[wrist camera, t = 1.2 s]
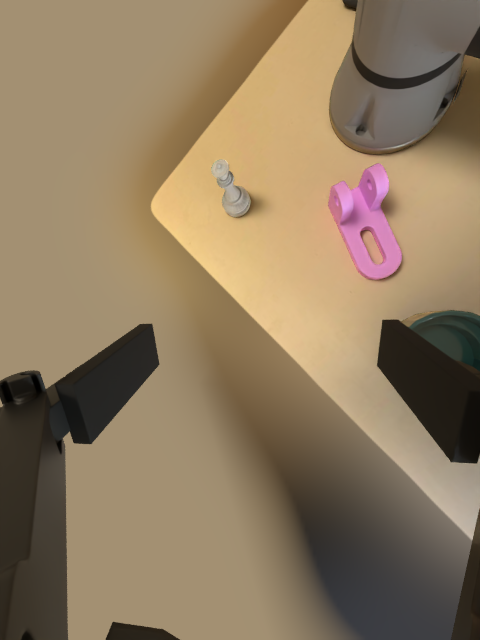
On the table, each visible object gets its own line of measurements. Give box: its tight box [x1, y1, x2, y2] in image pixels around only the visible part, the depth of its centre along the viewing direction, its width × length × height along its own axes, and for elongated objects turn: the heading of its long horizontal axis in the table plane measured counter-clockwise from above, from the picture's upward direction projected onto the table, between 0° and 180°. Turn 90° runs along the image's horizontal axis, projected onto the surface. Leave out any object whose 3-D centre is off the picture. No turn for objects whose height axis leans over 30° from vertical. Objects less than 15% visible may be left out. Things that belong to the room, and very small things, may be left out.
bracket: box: [328, 163, 402, 280], centre depth 34 cm, size 13×6×7 cm, turn 22°
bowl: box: [401, 310, 480, 371], centre depth 32 cm, size 12×12×6 cm
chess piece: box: [211, 159, 251, 217], centre depth 37 cm, size 4×4×10 cm
